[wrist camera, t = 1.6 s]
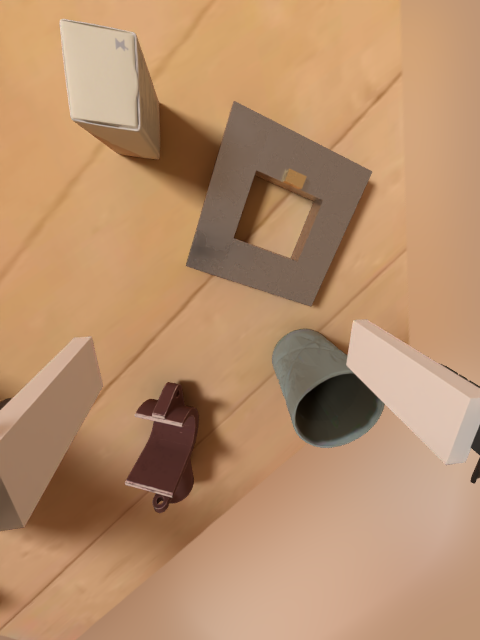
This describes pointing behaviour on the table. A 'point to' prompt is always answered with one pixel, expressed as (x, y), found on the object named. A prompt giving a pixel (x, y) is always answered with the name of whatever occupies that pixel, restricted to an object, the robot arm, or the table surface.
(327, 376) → the embossed green cup
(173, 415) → the bracket
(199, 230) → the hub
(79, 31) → the box
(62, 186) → the table surface
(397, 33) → the table surface
